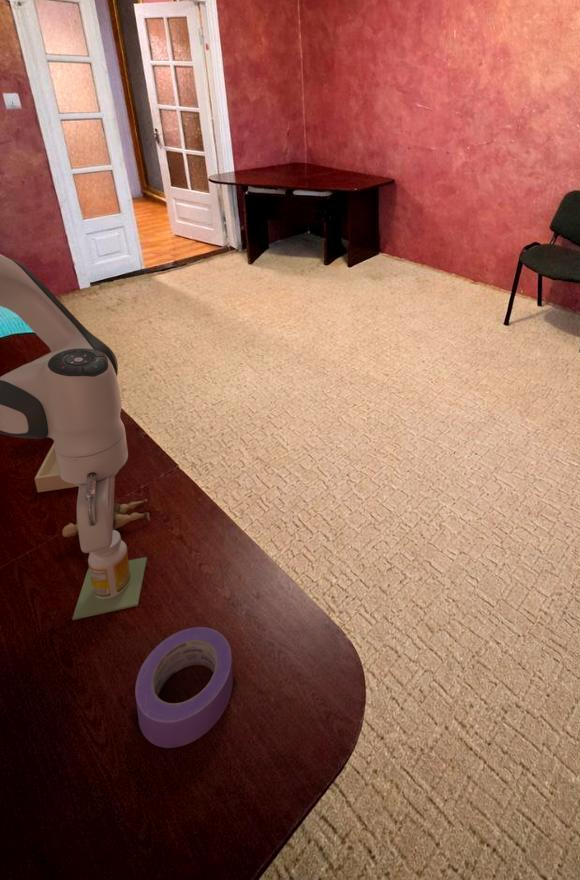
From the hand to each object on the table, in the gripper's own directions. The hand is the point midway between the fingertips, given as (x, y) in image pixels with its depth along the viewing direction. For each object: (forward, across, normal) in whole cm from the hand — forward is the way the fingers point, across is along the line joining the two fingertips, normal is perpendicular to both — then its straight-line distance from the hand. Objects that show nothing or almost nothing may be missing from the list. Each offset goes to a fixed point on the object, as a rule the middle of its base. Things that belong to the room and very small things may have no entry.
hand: (104, 526), depth 76 cm
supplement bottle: (+12, 0, 0) cm, 12 cm away
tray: (+12, +34, +6) cm, 37 cm away
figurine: (+12, +13, +1) cm, 18 cm away
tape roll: (+12, -22, -9) cm, 27 cm away
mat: (+12, 0, 0) cm, 12 cm away
